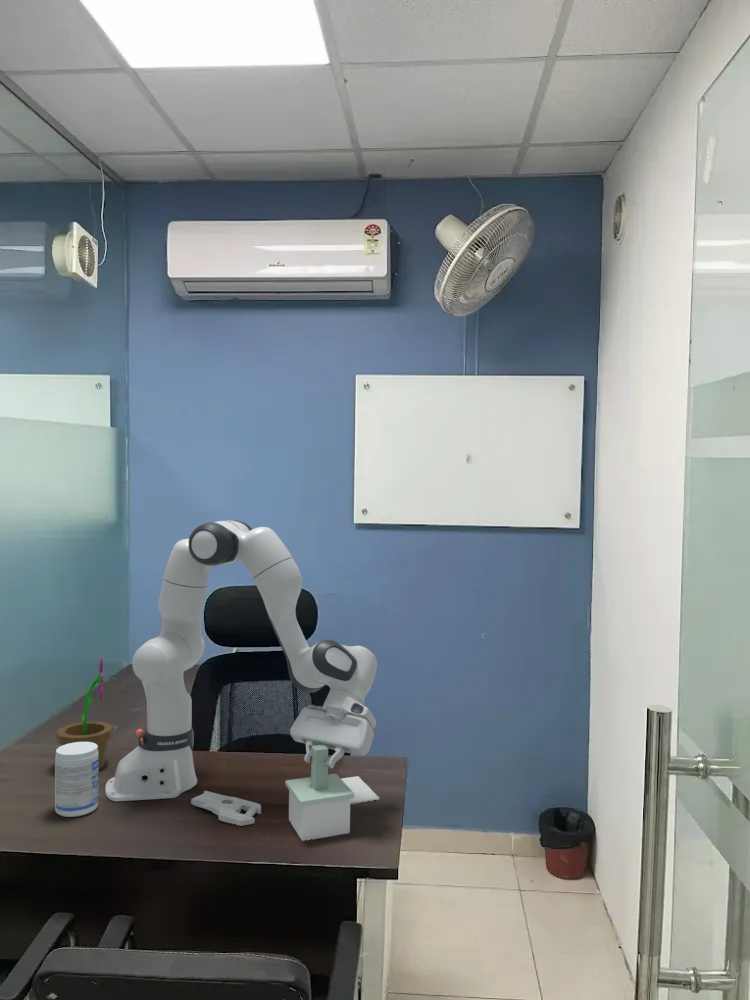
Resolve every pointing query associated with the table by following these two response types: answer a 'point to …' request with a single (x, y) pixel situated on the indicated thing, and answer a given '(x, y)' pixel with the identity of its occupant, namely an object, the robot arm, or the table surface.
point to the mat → (359, 790)
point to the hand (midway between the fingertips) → (318, 764)
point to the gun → (228, 808)
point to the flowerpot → (89, 726)
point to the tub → (319, 818)
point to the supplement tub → (76, 779)
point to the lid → (319, 782)
